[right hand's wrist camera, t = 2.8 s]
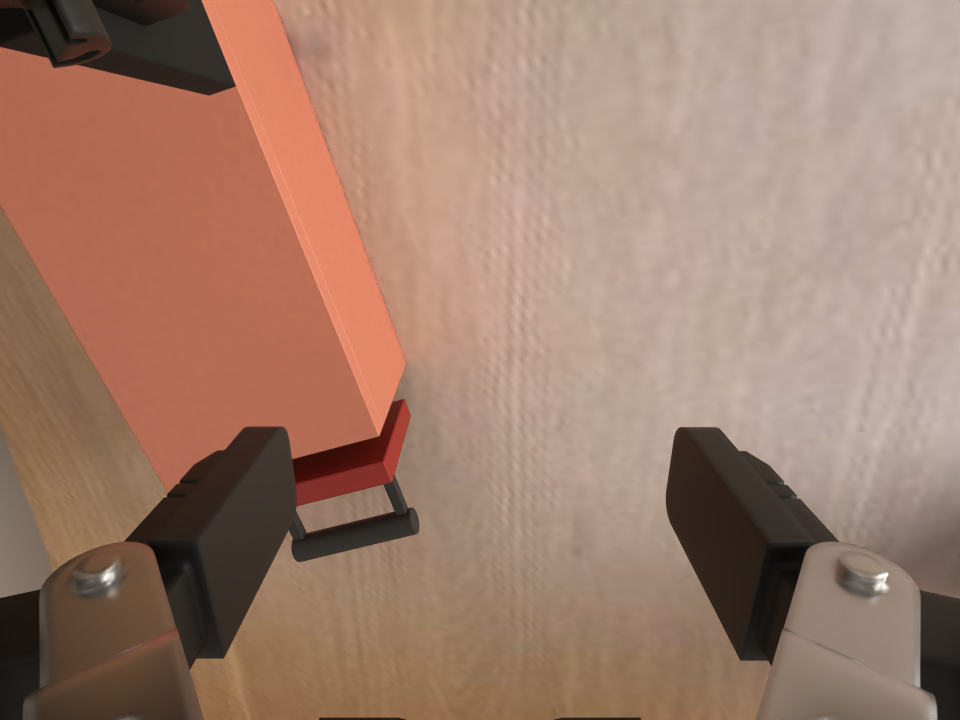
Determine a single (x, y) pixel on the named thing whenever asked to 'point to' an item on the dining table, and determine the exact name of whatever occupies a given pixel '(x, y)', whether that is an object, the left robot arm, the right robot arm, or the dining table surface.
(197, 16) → the left robot arm
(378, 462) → the drawer
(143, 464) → the dining table surface
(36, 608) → the right robot arm
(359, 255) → the cabinet
